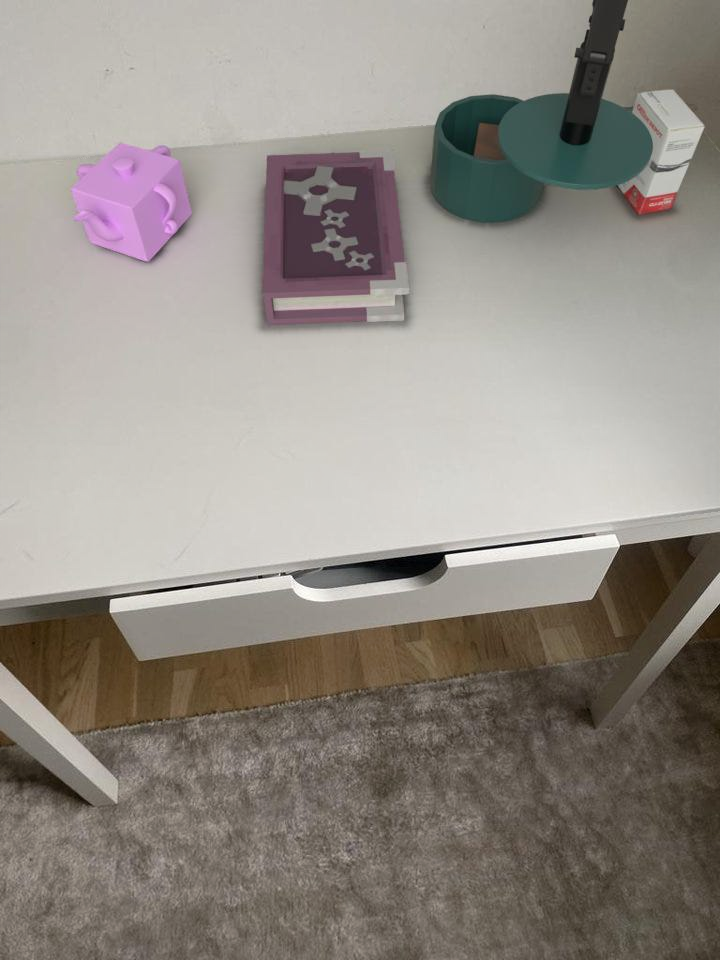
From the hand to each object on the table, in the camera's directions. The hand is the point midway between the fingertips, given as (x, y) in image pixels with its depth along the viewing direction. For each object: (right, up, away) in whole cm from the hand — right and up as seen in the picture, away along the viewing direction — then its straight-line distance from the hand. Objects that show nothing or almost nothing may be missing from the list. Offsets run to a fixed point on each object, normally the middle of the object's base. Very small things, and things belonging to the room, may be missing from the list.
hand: (581, 109), depth 76 cm
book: (-25, -8, +19) cm, 33 cm away
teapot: (-51, -6, +20) cm, 55 cm away
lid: (0, -2, +3) cm, 3 cm away
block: (-5, +4, +24) cm, 25 cm away
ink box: (+15, +1, +25) cm, 29 cm away
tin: (-5, +2, +25) cm, 26 cm away
